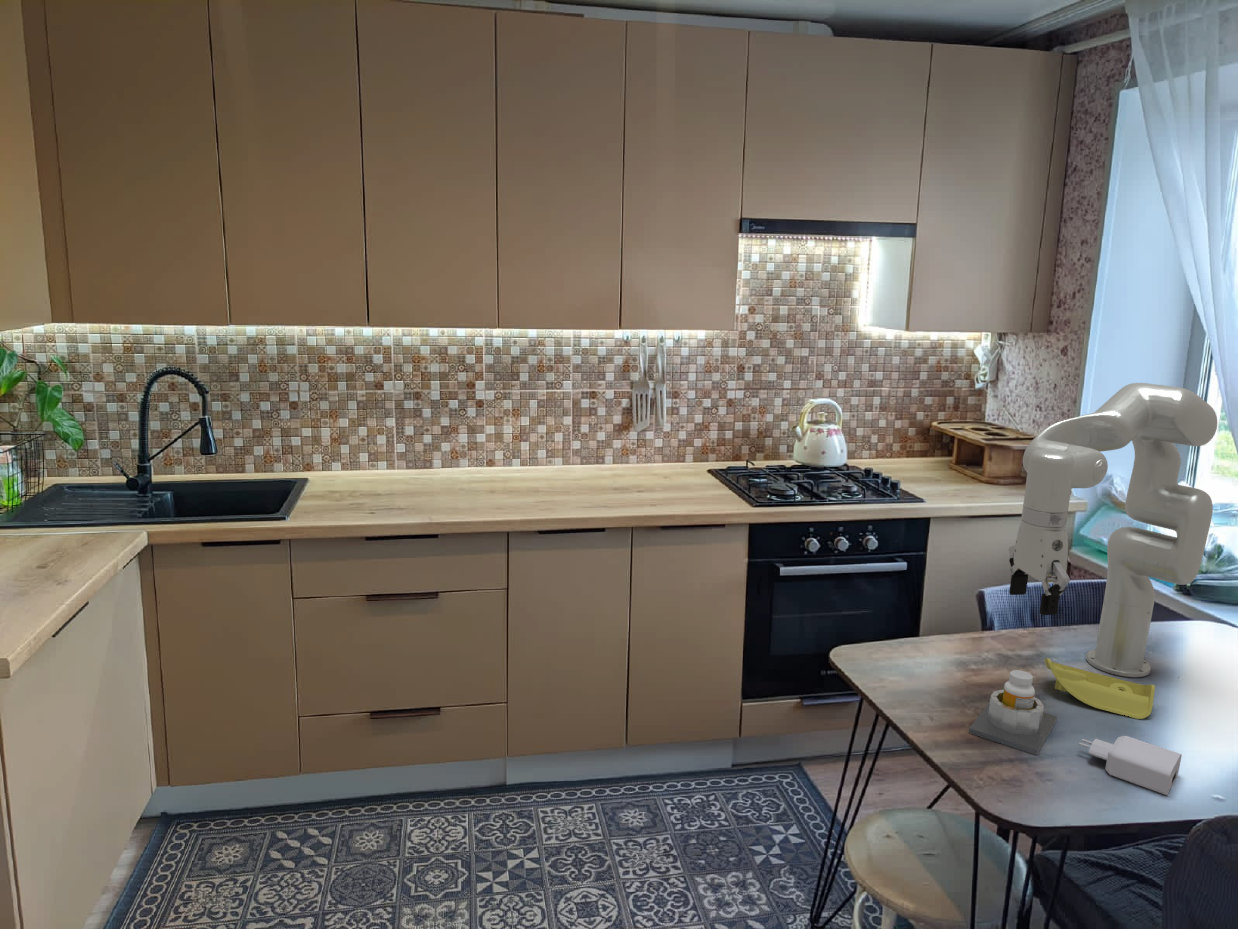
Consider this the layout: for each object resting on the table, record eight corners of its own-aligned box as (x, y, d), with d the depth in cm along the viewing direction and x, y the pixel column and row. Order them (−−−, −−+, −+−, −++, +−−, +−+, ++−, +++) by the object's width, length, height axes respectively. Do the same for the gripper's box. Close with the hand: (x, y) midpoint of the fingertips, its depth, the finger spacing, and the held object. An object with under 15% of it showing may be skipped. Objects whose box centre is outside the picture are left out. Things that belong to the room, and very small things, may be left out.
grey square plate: (992, 702, 182) (995, 676, 181) (1056, 721, 175) (1060, 695, 174) (968, 733, 169) (972, 706, 168) (1036, 755, 162) (1040, 727, 161)
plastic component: (1145, 686, 186) (1156, 685, 177) (1139, 721, 185) (1150, 722, 176) (1042, 659, 194) (1047, 657, 184) (1035, 693, 192) (1040, 693, 183)
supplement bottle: (996, 713, 175) (1002, 667, 173) (1025, 716, 174) (1031, 669, 172) (1004, 727, 170) (1010, 679, 168) (1034, 729, 169) (1041, 681, 167)
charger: (1085, 744, 167) (1178, 776, 158) (1070, 763, 160) (1166, 798, 151) (1089, 721, 166) (1182, 751, 156) (1074, 739, 159) (1171, 772, 150)
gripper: (1093, 530, 158) (1079, 621, 162) (1035, 503, 174) (1024, 586, 178) (1054, 532, 157) (1041, 623, 161) (999, 504, 173) (988, 587, 177)
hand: (1032, 604), depth 169 cm, fingers open, 9 cm apart
